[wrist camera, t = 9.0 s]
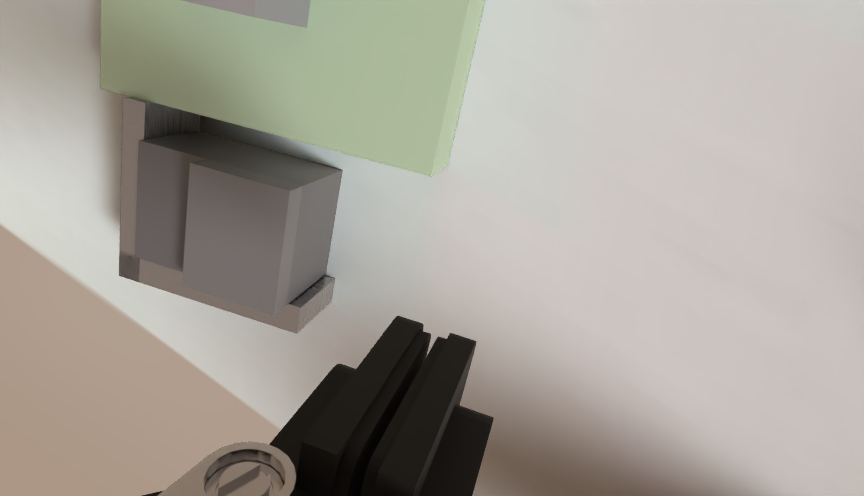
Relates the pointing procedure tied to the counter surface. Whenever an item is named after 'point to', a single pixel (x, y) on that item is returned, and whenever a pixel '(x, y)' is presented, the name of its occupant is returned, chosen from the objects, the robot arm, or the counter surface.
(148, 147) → the gray stepped block
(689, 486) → the counter surface
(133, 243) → the side bracket
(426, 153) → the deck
